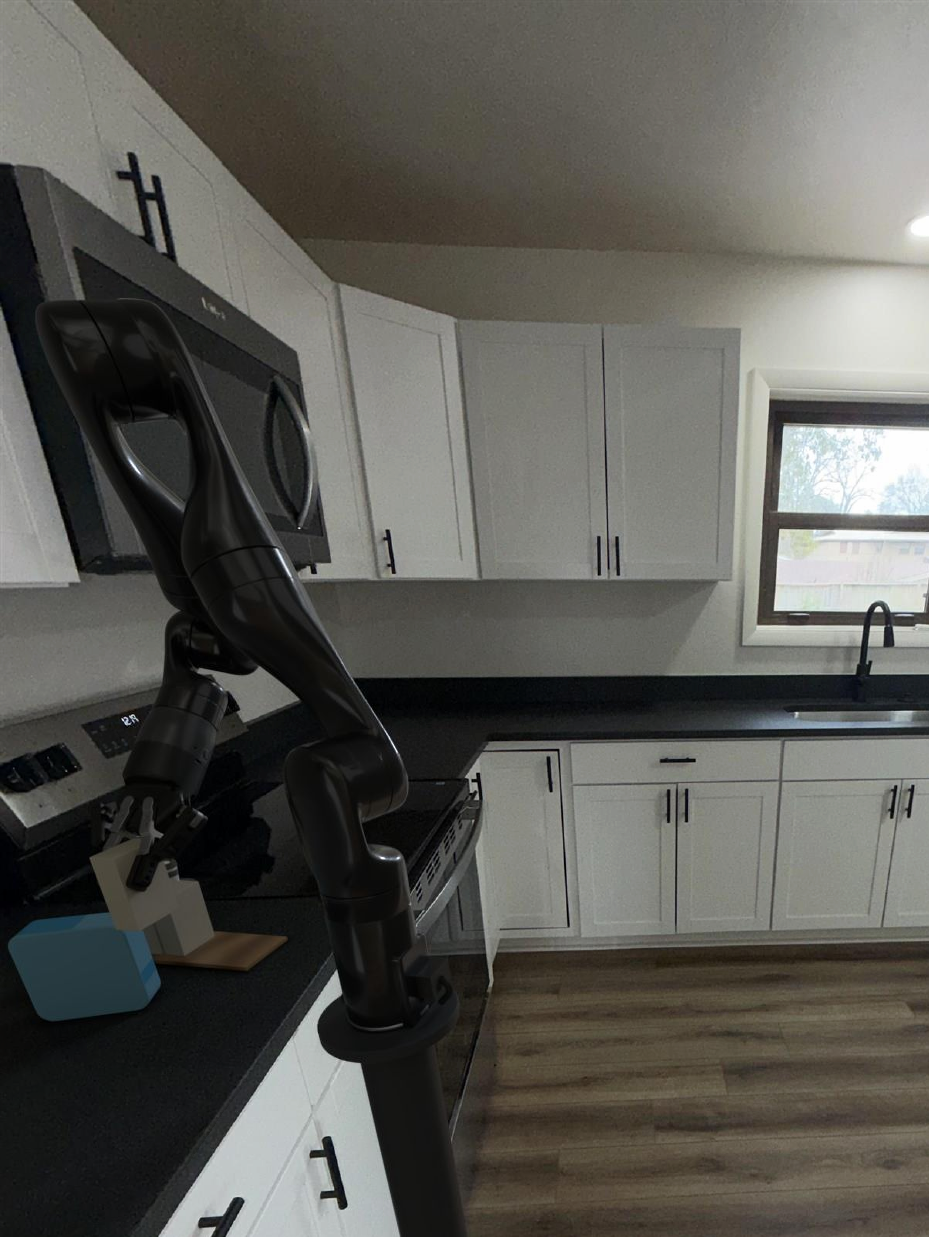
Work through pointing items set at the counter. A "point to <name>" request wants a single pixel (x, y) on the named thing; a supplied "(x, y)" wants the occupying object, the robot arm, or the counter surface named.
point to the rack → (203, 936)
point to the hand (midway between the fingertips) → (120, 887)
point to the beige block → (124, 902)
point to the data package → (84, 967)
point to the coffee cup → (174, 870)
